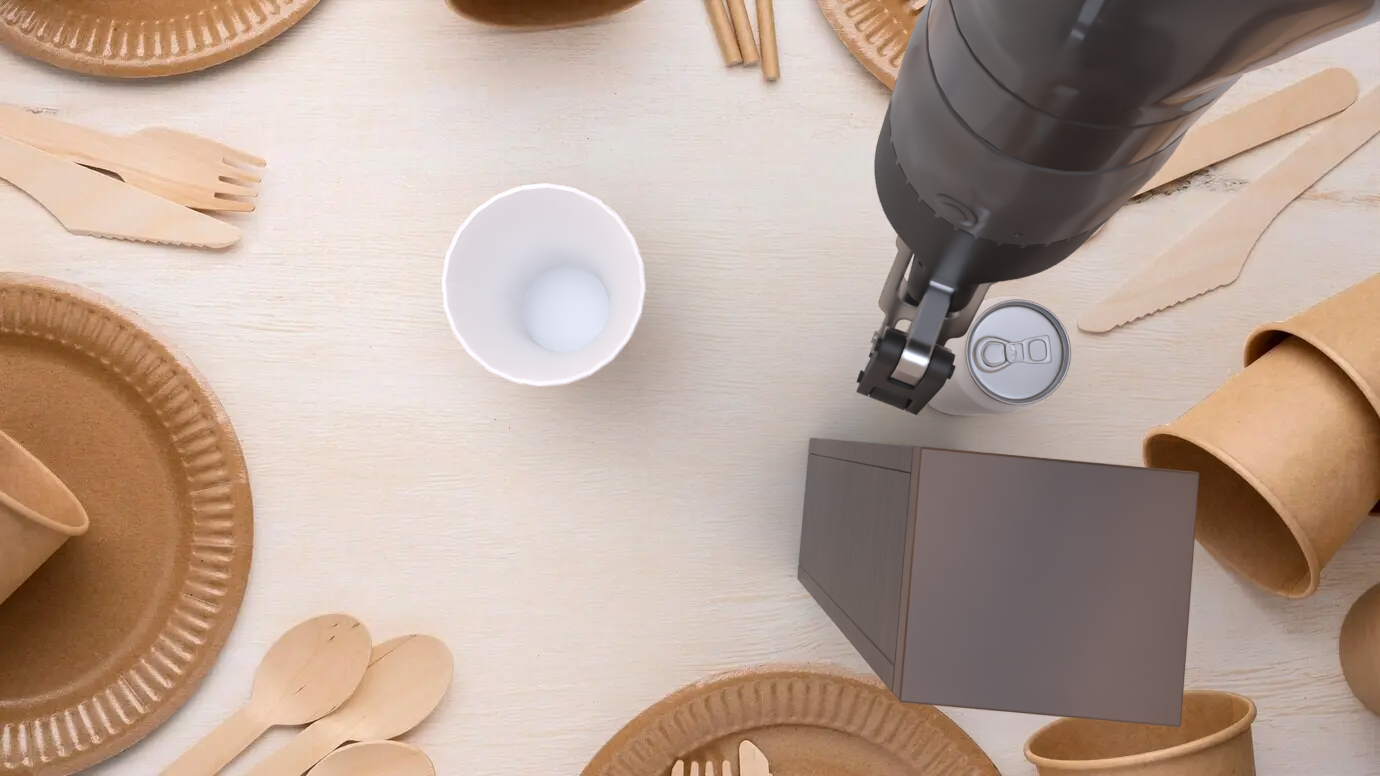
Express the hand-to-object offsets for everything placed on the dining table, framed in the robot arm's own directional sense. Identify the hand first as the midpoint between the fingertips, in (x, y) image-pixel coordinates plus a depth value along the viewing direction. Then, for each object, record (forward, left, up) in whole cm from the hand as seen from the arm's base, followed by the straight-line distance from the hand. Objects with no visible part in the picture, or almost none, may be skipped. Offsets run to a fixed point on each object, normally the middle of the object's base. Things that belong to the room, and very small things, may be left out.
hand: (928, 269), depth 46 cm
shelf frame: (-3, +12, -22) cm, 25 cm away
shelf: (-3, +12, +8) cm, 15 cm away
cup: (+18, +1, -22) cm, 28 cm away
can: (-7, +2, -22) cm, 23 cm away
